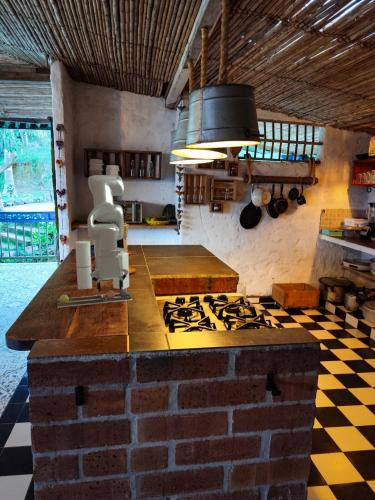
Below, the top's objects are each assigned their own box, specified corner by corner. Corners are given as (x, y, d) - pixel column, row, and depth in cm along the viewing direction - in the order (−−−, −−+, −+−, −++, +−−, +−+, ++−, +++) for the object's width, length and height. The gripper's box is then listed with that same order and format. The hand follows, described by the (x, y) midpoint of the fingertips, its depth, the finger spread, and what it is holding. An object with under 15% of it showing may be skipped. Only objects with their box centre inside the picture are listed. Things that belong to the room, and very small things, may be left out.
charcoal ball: (118, 296, 168) (118, 288, 167) (127, 296, 169) (127, 288, 168) (120, 299, 164) (119, 291, 163) (128, 298, 165) (128, 290, 165)
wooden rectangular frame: (103, 297, 167) (103, 295, 166) (129, 295, 171) (129, 292, 170) (104, 301, 161) (104, 299, 161) (131, 299, 165) (131, 296, 164)
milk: (119, 287, 187) (118, 246, 183) (129, 288, 185) (128, 247, 181) (113, 290, 182) (111, 248, 178) (123, 291, 180) (122, 249, 176)
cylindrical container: (77, 291, 179) (74, 243, 174) (78, 287, 186) (75, 241, 181) (92, 290, 181) (89, 242, 176) (92, 286, 188) (89, 240, 183)
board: (57, 301, 164) (57, 298, 164) (128, 294, 175) (128, 291, 175) (57, 310, 153) (57, 306, 153) (132, 302, 164) (132, 298, 163)
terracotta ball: (105, 298, 166) (105, 289, 165) (114, 297, 167) (113, 289, 166) (106, 300, 162) (106, 292, 161) (115, 299, 163) (115, 291, 163)
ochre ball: (59, 302, 159) (59, 294, 159) (69, 301, 161) (68, 293, 160) (59, 305, 156) (59, 296, 155) (69, 304, 157) (68, 295, 156)
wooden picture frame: (57, 301, 160) (57, 299, 160) (101, 297, 166) (101, 295, 166) (57, 306, 154) (57, 303, 154) (103, 301, 161) (103, 299, 160)
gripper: (126, 251, 167) (127, 285, 170) (88, 253, 161) (90, 289, 165) (129, 254, 160) (130, 290, 163) (89, 256, 154) (91, 293, 158)
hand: (110, 289), depth 164 cm, fingers open, 9 cm apart
